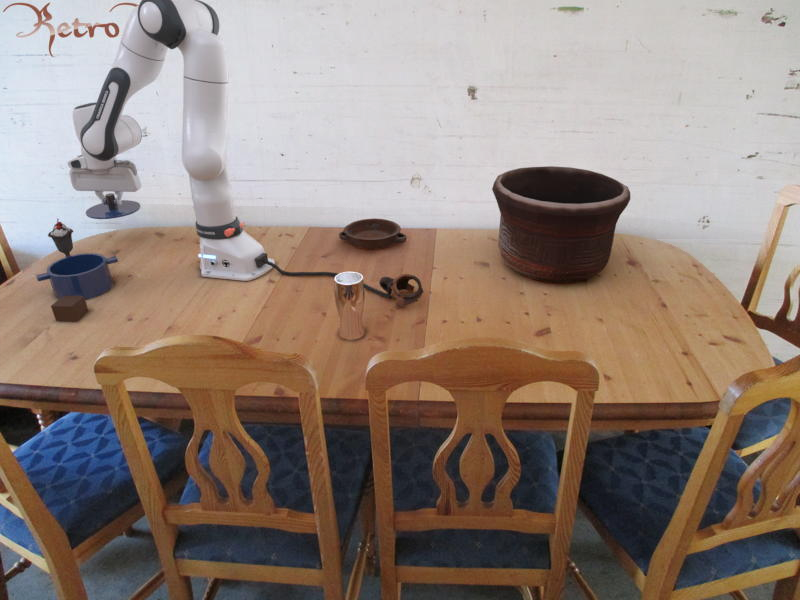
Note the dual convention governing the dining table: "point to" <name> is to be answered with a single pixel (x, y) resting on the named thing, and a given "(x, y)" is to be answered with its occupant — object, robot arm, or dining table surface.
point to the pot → (80, 275)
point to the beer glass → (350, 304)
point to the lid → (112, 208)
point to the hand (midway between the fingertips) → (112, 204)
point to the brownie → (69, 308)
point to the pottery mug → (402, 288)
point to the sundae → (62, 238)
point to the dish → (373, 233)
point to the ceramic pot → (558, 221)
